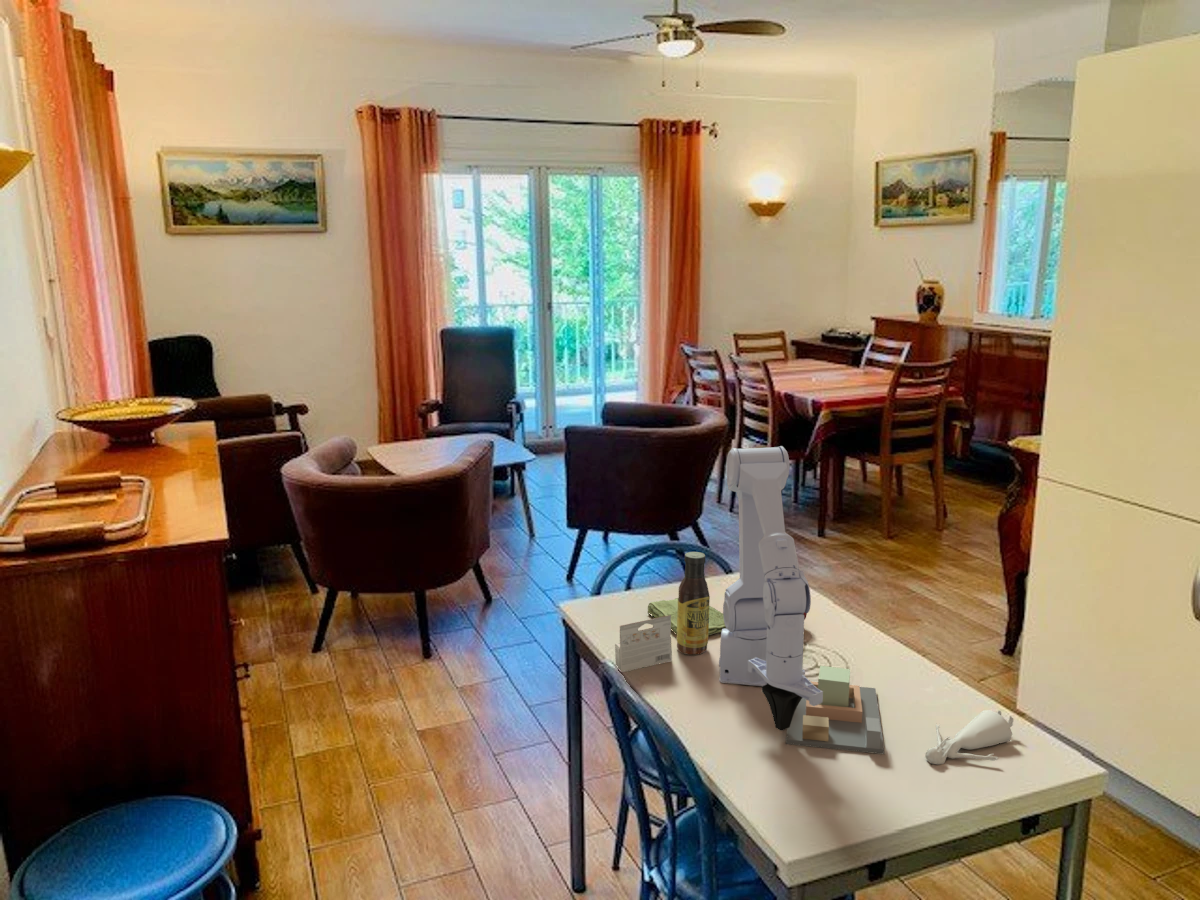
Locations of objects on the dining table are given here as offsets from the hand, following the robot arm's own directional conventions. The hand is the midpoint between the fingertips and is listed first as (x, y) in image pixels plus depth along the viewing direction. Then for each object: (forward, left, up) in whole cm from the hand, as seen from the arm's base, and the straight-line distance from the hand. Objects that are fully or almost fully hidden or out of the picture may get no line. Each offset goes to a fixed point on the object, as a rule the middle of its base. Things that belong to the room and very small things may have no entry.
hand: (782, 727), depth 142 cm
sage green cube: (+8, +10, -1) cm, 13 cm away
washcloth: (-21, +42, -2) cm, 47 cm away
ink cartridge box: (-27, +21, -2) cm, 34 cm away
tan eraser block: (+5, 0, -2) cm, 5 cm away
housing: (+8, +8, -2) cm, 12 cm away
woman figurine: (+29, +3, -2) cm, 29 cm away
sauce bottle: (-18, +29, -2) cm, 34 cm away
